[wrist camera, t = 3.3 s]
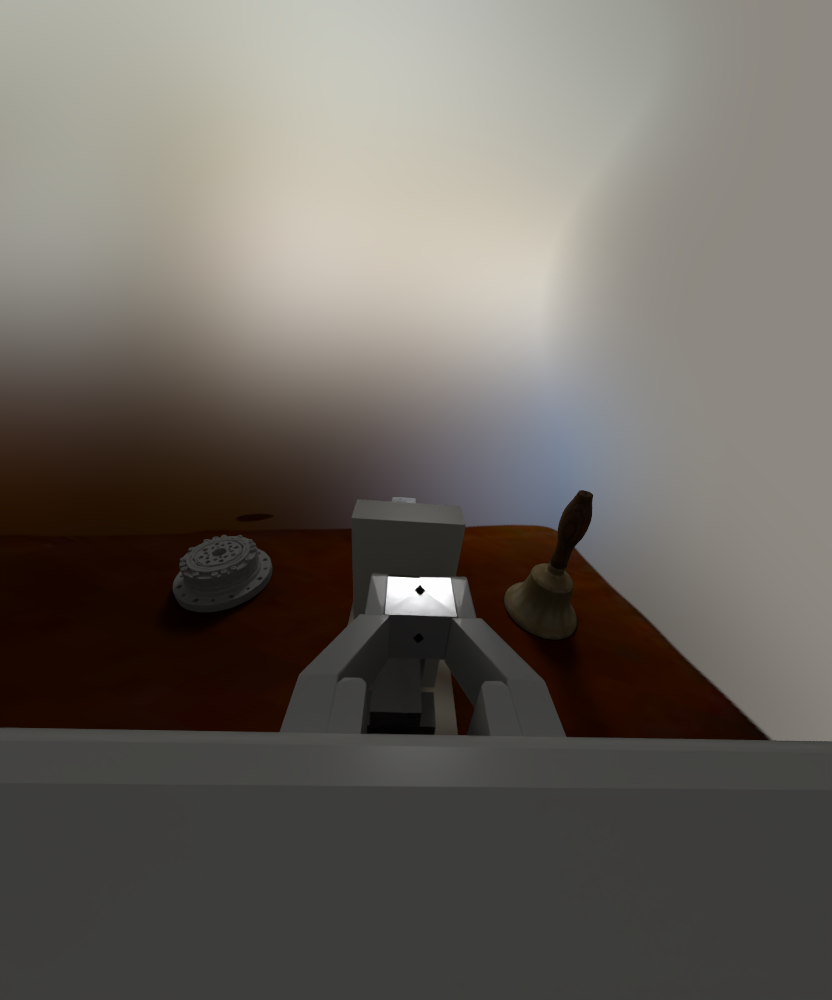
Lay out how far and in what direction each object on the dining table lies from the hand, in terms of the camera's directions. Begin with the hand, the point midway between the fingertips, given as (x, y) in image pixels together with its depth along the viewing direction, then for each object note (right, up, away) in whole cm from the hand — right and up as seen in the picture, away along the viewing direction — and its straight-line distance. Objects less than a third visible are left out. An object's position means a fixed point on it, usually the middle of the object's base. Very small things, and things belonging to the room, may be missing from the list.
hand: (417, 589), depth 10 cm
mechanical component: (-23, -7, +27) cm, 36 cm away
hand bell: (+15, -10, +27) cm, 32 cm away
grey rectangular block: (-2, -10, +15) cm, 18 cm away
